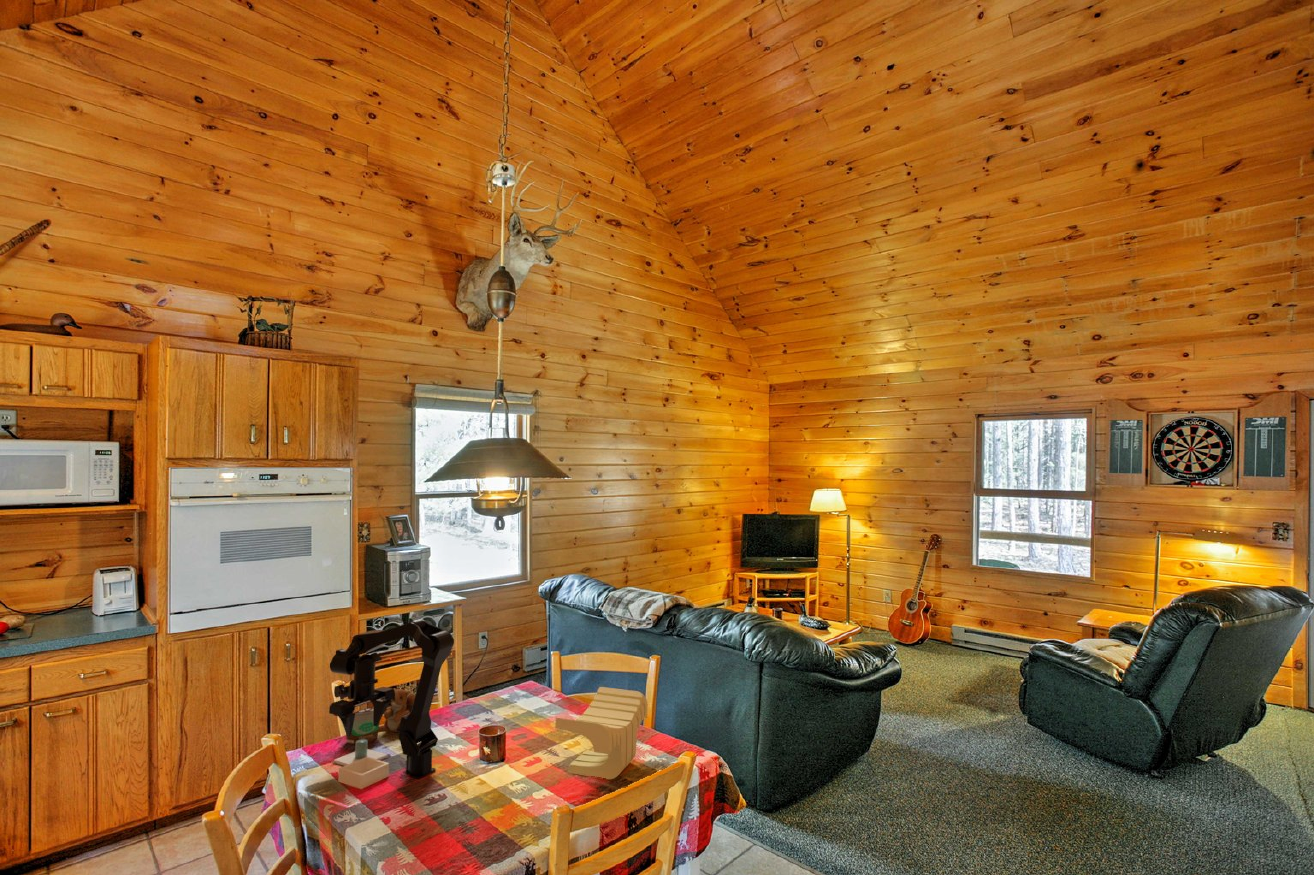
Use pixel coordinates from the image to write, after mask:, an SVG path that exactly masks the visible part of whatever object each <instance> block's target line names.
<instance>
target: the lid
mask: <svg viewBox="0 0 1314 875" xmlns="http://www.w3.org/2000/svg"><path fill="white" fill-rule="evenodd" d="M368 744H369V742H368V740H365V739H362V740H358V741H356V744H354V745H355V747H354V748H355V749H354V751H352V752H349V753H347V754H344V755H343V756H341V757H337V758H336V759H333V760H334V761H333V762H334V763H337V764H340V765H343V766H346V765H348V764H351V763H353V762H355V761H358V760H360V759H362V758H365V757H370V758H373V759H377V760H382V759H384V758H387V756H388V754H387V753H382V752H380V751H376V750H372V749H369V748H368ZM387 759H388V758H387ZM382 761H383V760H382Z"/></svg>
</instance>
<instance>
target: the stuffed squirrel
mask: <svg viewBox="0 0 1314 875" xmlns="http://www.w3.org/2000/svg"><path fill="white" fill-rule="evenodd" d="M393 689H394V691H395V699H392V702H391V703H390V705H391V706H390V707H389V708H387V709H386V710H385V712H384V714H383V717H384V719H385V720H384V723H383V725H379V731H378V733H380V732H386V731H387V732H388V731H390V732H392V733H397V734H399V732H398V731H397V730H398V729H399V727H400V721H401V718H402V717H403V716H405V715H408V714H410V713H411V710H412V707H413V703H414V699H415V695H416V693H413V691H412V690H408V691H407V690H405V689H402V688H395V687H394V688H393Z"/></svg>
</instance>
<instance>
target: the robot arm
mask: <svg viewBox="0 0 1314 875" xmlns="http://www.w3.org/2000/svg"><path fill="white" fill-rule="evenodd" d="M408 637H411V638H412V639H413V641H414V643H415V645H416V646H417V647H418V648H420V649H421V658H422V660H423V666H422V669H421V673H420V677H419V680H418V684H417V687H416V692H415V694H416V695H415V699H414V703H413V707H412V710H411V713H410V714H408V715H405V716H403V717H402V718H401V721H400V727H399V729H398V730H397V731H398V732H399V733H398V732H397V733H398V737H397V738H398V740H399V743H400V746H401V751H402V754H403V755H404V756H405V755H406V764H405V765H406V766H405V768H406V770H404V771H402V774H404V775H408V777H411V778H414V779H418V780H419V779H421V778H422V779H423V778H424V777H425V776H427V775H430V774H432V773H434V772H435V771H436V770H437V769H436V768H435V767H432V765H433V763H432V762H433V749H432V748H434V747H436V746H437V744H438V741H439V738H438V737H437V735H436V734H435V732H434V730H432V718H431V716H430V711H431V707H432V704H433V699H434V696H435V692H436V688H437V684H438V681H439V678H440V677H439V676H440V673H441V669H442V666H443V664H444V663H445V661H446V660H447V659H448V657H449V656H450V654H451V652H452V650H453V648H454V644H455V638H454V637H453V635H452V633H450V632H449V631H447V630H444V629H443V628H441V627H439V626H436V625H434V624H431V623H429V622H427V621H426V620H425V619H421V618H419V619H415V620H412V621H409V622H407V623H405V624H401V625H398V626H395V627H392V628H388V629H375V630H374V629H373V630H369V631H365V632H362V633H359V634H354V635H353V637H352V640H351V642H350V644H349V646H348V647H347V648H346V649H345V648H340V649H336V651H335V654H334V655H333V657H332V658H331V660H330V662H329V670H330V672H332V673H334V674H341V675H348V676H350V675H351V676H352V675H353V679H351V680H350V681H349V685H347V686H345V685H344V684H339V685H335V686H334V689H333V694H334V698H336V699H337V698H339V700H337V701H334V702H332V703H331V704H330V705H329V707H328V710H329V711H328V714H330V715H333V716H334V717H338V718H339V719H340V721H341V723H342V727H343V728H344V731H345V736H346V735H347V736H348V737H350V736H351V733H352V729H353V723H354V718H355V713H354V712H355V710H356V708H357V707H359V706H363V705H366V704H369V703H372V706H373V707H374V715H373V722H374V726H378V724H379V725H380V723H379V722H381V719H382V717H384V712H385V711H387V710H388V707H389V705H391V702H392V699H395V691H394V688H392V687H386V686H381V687H378V688H375V685H376V684H377V683H379V678H376V663H378V662H380V661H382V660H383V658H382V656H380V655H379V654H378V652H373V651H375V650H378V649H380V648H382V647H383V646H385V644H388V643H390V642H395V641H397V640H400V639H403V638H408ZM371 652H373V653H371ZM367 653H368V654H367ZM369 653H371V654H369ZM346 698H347V700H345V699H346ZM350 700H351V701H350Z"/></svg>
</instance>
